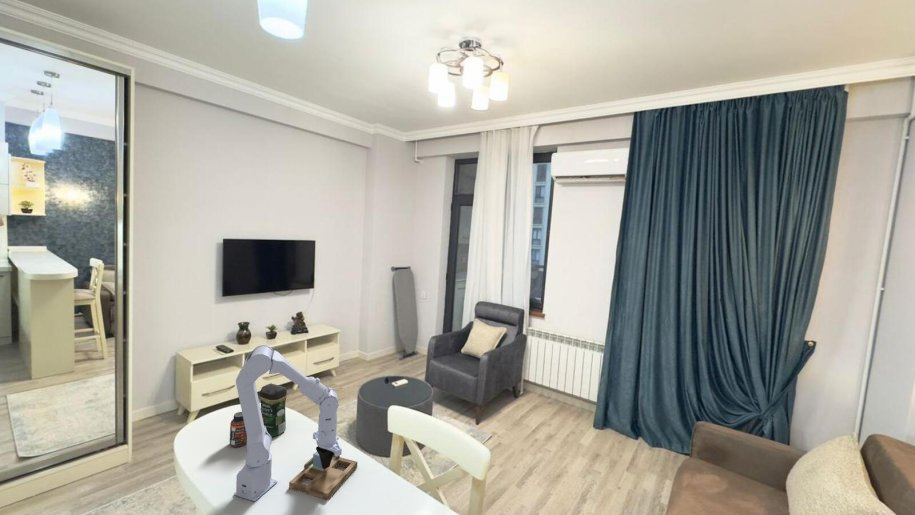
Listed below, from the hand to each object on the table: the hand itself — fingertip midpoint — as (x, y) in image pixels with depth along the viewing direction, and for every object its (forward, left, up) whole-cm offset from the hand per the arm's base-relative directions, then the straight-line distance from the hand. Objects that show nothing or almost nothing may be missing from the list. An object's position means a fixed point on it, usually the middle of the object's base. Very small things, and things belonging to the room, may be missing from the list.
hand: (325, 467), depth 126 cm
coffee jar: (+15, +35, -3) cm, 38 cm away
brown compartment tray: (-1, 0, -3) cm, 3 cm away
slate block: (+2, +3, -1) cm, 4 cm away
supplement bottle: (+4, +40, -3) cm, 40 cm away
